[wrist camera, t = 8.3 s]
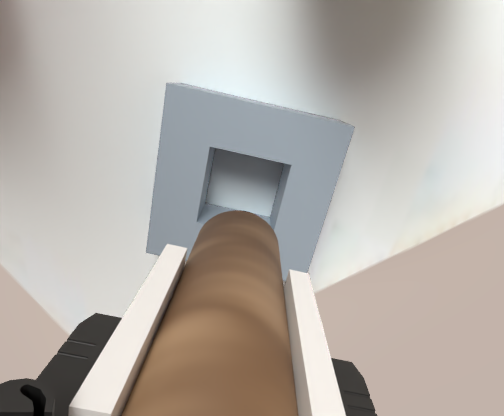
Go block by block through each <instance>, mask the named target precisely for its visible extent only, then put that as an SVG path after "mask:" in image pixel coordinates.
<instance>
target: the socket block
mask: <svg viewBox="0 0 504 416" xmlns="http://www.w3.org/2000/svg"><path fill="white" fill-rule="evenodd" d="M354 128H355V127H354V126H351V125H349V124H347V123H345V122H342V121H340V120H336V119H331V118H327V117H323V116H319V115H314V114H310V113H306V112H302V111H297V110H293V109H289V108H285V107H280V106H276V105H272V104H268V103H263V102H259V101H255V100H251V99H246V98H242V97H238V96H234V95H229V94H225V93H221V92H217V91H212V90H208V89H204V88H200V87H195V86H191V85H187V84H183V83H167V84H166V92H165V100H164V109H163V117H162V125H161V133H160V142H159V150H158V158H157V166H156V174H155V183H154V191H153V199H152V207H151V216H150V224H149V232H148V240H147V248H146V253H150V254H155V255H159V256H160V255H161V253H162V251H163V250H164V248H165V246H166V245H167V244H170V245H175V246H180V247H185V248H187V254H186V259H185V261H187V260H188V257H189V255H190V253H191V250H192V248H193V246H194V243H195V241H196V239H197V236H198V234H199V232H200V230H201V228H202V227H203V226H204V224H205V223H206V222H207V221H208V220H209V219H211V218H212V217H214V216H216V215H218V214H220V213H223V212H227V211H234V209H229V208H224V207H220V206H215V205H210V204H206V203H205V201H206V196H207V190H208V185H209V179H210V174H211V168H212V163H213V158H214V152H215V148H218V149H223V150H227V151H232V152H236V153H241V154H245V155H249V156H254V157H258V158H263V159H267V160H272V161H276V162H280V163H284V166H283V170H282V174H281V178H280V181H279V185H278V189H277V193H276V197H275V201H274V204H273V208H272V212H271V216H270V217H266V216H262V215H257V214H255V215H257V216H259V217H261V218H262V219H263V220H265V221H266V222H267V223H268V224H269V225H270V226H271V228H272V229H273V230H274V232H275V234H276V237H277V239H278V244H279V252H280V261H281V270H282V278H283V281H286V279H287V276H288V272H289V269H290V270H294V271H299V272H304V273H307V272H308V269H309V266H310V263H311V260H312V257H313V254H314V250H315V247H316V244H317V241H318V238H319V235H320V232H321V229H322V226H323V223H324V220H325V217H326V214H327V211H328V208H329V205H330V202H331V198H332V195H333V192H334V189H335V186H336V183H337V180H338V177H339V174H340V171H341V168H342V165H343V162H344V159H345V156H346V153H347V149H348V146H349V143H350V140H351V137H352V134H353V131H354ZM236 211H238V210H236Z"/></svg>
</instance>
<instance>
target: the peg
mask: <svg viewBox="0 0 504 416" xmlns="http://www.w3.org/2000/svg"><path fill="white" fill-rule="evenodd" d="M121 416H298V408H297V399H296V391H295V382H294V373H293V365H292V356H291V347H290V339H289V330H288V322H287V313H286V304H285V296H284V287H283V278H282V270H281V261H280V252H279V244H278V239H277V237H276V234H275V232H274V230H273V229H272V228H271V226H270V225H269V224H268V223H267V222H266V221H265V220H263V219H262V218H261V217H259V216H257V215H255V214H253V213H250V212H246V211H236V210H234V211H227V212H223V213H220V214H218V215H216V216H214V217H212V218H211V219H209V220H208V221H207V222H206V223H205V224H204V226H203V227H202V228H201V230H200V232H199V234H198V236H197V239H196V241H195V243H194V246H193V248H192V250H191V253H190V255H189V257H188V260H187V262H186V264H185V267H184V269H183V272H182V274H181V276H180V279H179V281H178V283H177V286H176V288H175V290H174V293H173V295H172V297H171V300H170V302H169V304H168V307H167V309H166V311H165V314H164V316H163V318H162V321H161V323H160V325H159V328H158V330H157V332H156V335H155V337H154V339H153V342H152V344H151V346H150V349H149V351H148V353H147V356H146V358H145V360H144V363H143V365H142V367H141V370H140V372H139V374H138V377H137V379H136V381H135V384H134V386H133V388H132V391H131V393H130V395H129V398H128V400H127V402H126V405H125V407H124V409H123V412H122V414H121Z"/></svg>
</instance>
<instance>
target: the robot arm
mask: <svg viewBox="0 0 504 416" xmlns="http://www.w3.org/2000/svg"><path fill="white" fill-rule="evenodd" d="M186 254H187V248H185V247H180V246H175V245H170V244H167V245H166V246H165V248H164V250H163V251H162V253H161V255H160V256H159V258H158V260H157V261H156V263H155V265H154V266H153V268H152V270H151V271H150V273H149V275H148V276H147V278H146V280H145V281H144V283H143V285H142V286H141V288H140V289H139V291H138V293H137V294H136V296H135V298H134V299H133V301H132V303H131V304H130V306H129V308H128V309H127V311H126V313H125V314H124V316H123V318H119V317H114V316H108V315H103V314H98V313H95V314H94V315H92V316H91V317H89V318H88V319H86V320H84V321H83V322H81V323H80V324H79V325H78V326H77V327H76V329H75V330H74V331H73V332H72V334H71V335H70V336H69V338H68V339H67V342H65V343H64V344H63V345H62V347H61V348H60V349H59V351H58V353H57V355H55V356H54V357H53V358H52V360H51V361H50V362H49V363H48V365H47V366H46V367H45V369H44V370H43V371H42V372H41V374H40V375H39V376H38V378H37V379H36V380H33V379H27V378H26V379H18V380H10V381H7V382H4V383H2V384H0V416H121V414H122V412H123V409H124V407H125V405H126V402H127V400H128V398H129V395H130V393H131V391H132V388H133V386H134V384H135V381H136V379H137V377H138V374H139V372H140V370H141V367H142V365H143V363H144V360H145V358H146V356H147V353H148V351H149V349H150V346H151V344H152V342H153V339H154V337H155V335H156V332H157V330H158V328H159V325H160V323H161V321H162V318H163V316H164V314H165V311H166V309H167V307H168V304H169V302H170V300H171V297H172V295H173V293H174V290H175V288H176V286H177V283H178V281H179V279H180V276H181V274H182V272H183V269H184V265H185V259H186ZM284 296H285V304H286V313H287V322H288V330H289V339H290V347H291V356H292V365H293V373H294V382H295V391H296V399H297V408H298V416H377V414H375V408H374V405H373V403H372V400H371V399H370V394H369V392H368V389H367V386H366V383H365V380H364V378H363V376H362V375H361V374H360V372H359V371H358V370H357V368H356V367H355V366H354V364H353V363H352V362H348V361H343V360H338V359H333V358H331V357H330V353H329V349H328V345H327V341H326V337H325V334H324V330H323V326H322V322H321V318H320V314H319V311H318V307H317V303H316V299H315V295H314V291H313V287H312V284H311V280H310V276H309V273H304V272H299V271H294V270H290V269H289V272H288V276H287V279H286V282H285V285H284Z"/></svg>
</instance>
